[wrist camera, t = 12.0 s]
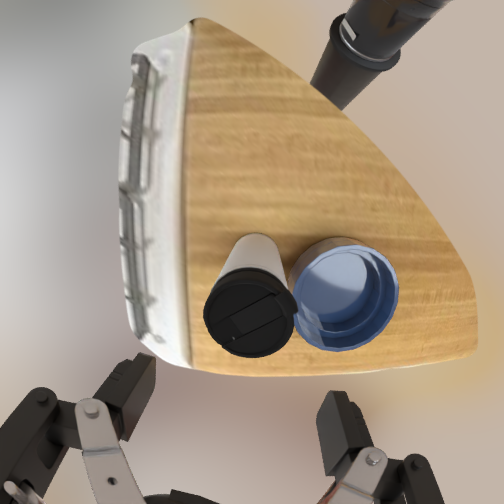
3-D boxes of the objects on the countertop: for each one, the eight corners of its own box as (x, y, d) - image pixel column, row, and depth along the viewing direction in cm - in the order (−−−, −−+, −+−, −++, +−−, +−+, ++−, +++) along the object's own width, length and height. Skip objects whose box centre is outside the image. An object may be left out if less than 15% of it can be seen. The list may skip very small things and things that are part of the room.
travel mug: (290, 261, 37) (316, 336, 17) (248, 286, 38) (234, 377, 18) (265, 222, 36) (268, 258, 16) (223, 248, 37) (180, 310, 17)
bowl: (300, 226, 36) (307, 232, 30) (392, 248, 36) (412, 258, 30) (276, 322, 39) (278, 343, 33) (363, 335, 39) (376, 355, 33)
